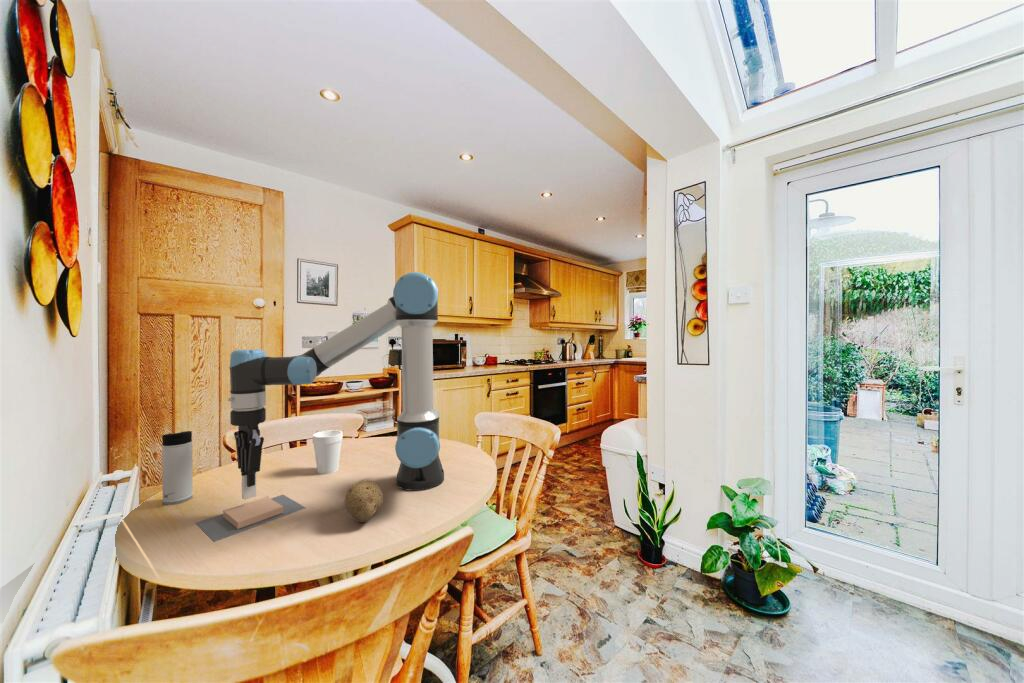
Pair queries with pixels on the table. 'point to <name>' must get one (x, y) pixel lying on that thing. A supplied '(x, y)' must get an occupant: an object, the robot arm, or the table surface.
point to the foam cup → (327, 450)
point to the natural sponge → (363, 500)
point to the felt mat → (223, 528)
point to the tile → (252, 512)
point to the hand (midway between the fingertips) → (249, 497)
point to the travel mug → (177, 468)
